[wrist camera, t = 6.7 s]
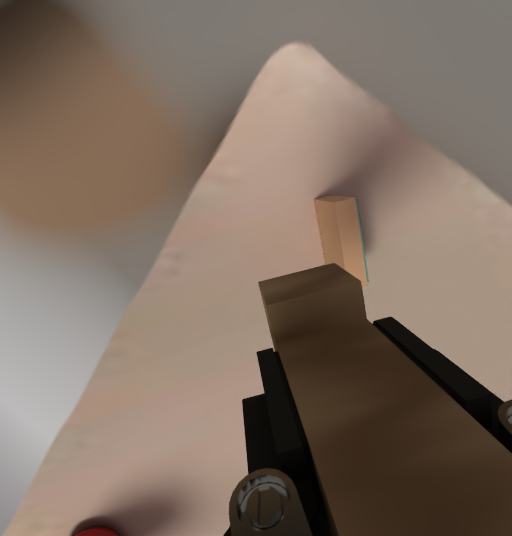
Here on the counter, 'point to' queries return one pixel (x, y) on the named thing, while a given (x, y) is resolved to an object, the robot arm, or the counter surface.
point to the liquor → (97, 532)
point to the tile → (342, 234)
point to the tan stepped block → (381, 421)
